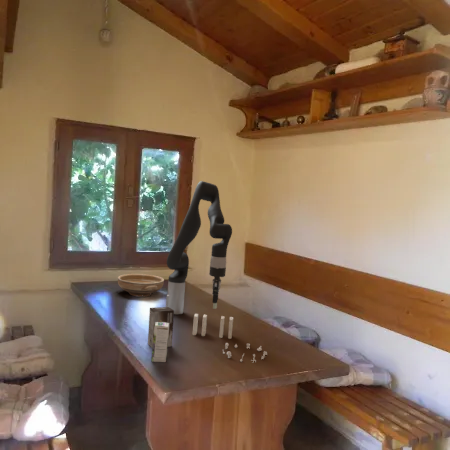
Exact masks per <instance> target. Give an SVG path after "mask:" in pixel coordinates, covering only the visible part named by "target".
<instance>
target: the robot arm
mask: <svg viewBox="0 0 450 450" xmlns="http://www.w3.org/2000/svg"><path fill="white" fill-rule="evenodd" d="M201 200H202V201H205V202H210V203H211V204H210V206H209V207H208V208H207V216H208V221H209V236H210V237H211V238H213V239H219V240H221V241H220V242H217V243H213V244H212V245H211V255H210V261H209V273H208V275H209V276H210V277H213V279H212V282H211V283H212V284H211V285H212V287H211V288H212V304H213V303H217V304H218V300H219V293H220V289H221V283H222V279H221V278H224V277H226V271H227V254H228V253H227V251H228V246H229V242H230V239H231V237H232V235H233V228H232V226H231V224H228V223H225V217H224V214H223V212H222V208H221V202H220V201H221V200H220V192H219V188H218V186H217V185H216V184H213V183H210V182H207V181H204V180H200V181H199V182H198V183H197V185H196V186H195V190H194V192H193V194H192V199H191V202H190V205H189V208H188V210H187V213H186V215H185V218H184V219H183V221H182V225H181V227H180V230H179V232H178V234H177V237H176V239H175V241H174V244H173V245H172V248H171V249H170V251H169V252H168V255H167V256H166V257H167V258H166V266H167V268H168V269H170V270H172V271H173V270H174V271H173V272H172V273H171V274H170V275H168V281H167V282H168V283H167V293H166V300H165V307H169V308H171V309H173V310H174V315H182V314H183V313H184V304H185V290H186V279H187V277H188V272H189V265H190V259H189V256H188V254H187V253H186V252H185V250H186V248H187V247H188V246H189V245H190V244H191V243H192V242H193V241H194V240H195V238H196V237H197V235H198V233H199V231H200V228H201V227H202V219H201V216H200V215H201V214H200V209H199V206H200V202H201ZM214 290H217V292H214Z"/></svg>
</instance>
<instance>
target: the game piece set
mask: <svg viewBox="0 0 450 450" xmlns="http://www.w3.org/2000/svg"><path fill="white" fill-rule="evenodd" d="M229 346H230V345H229V343H228V342H225V345H224V347H225V348H224V349H222V354H225V355H226V356H227V358H228V359H231V357H232V352H231V351H230V350H229V351H227V352H225V351H224V350H227V349H228V347H229ZM250 346H251V344H250V343H246V349H248V348H249V349H251V347H250ZM234 348H235V349H237V348H238V345H237V344H235V345H234ZM262 350H263V348H262V345H260V346H259V347H258V348H257V349H256V351H258V352H260V351H262ZM265 355H267V356H268V352H267V351H265V350H264V351H263V354H262V355H261V358H260V359H261V360H262V359H263V360H264V359H265V358H266V356H265ZM244 356H245V353H243V354H242V356H241V358H240V360H239V362H241V363H243V357H244ZM252 356H253V360H252V359H251V360H250V361H253V362H252V363H254V361H255V363H257V360H256V359H255V357H256V354H252Z"/></svg>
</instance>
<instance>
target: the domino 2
mask: <svg viewBox="0 0 450 450" xmlns="http://www.w3.org/2000/svg"><path fill="white" fill-rule="evenodd" d="M207 321H208V315H207V314H206V313H205V314H203V316H202V323H201V325H202V326H201V337H205V336H206V334H207V333H206V332H207Z"/></svg>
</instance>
